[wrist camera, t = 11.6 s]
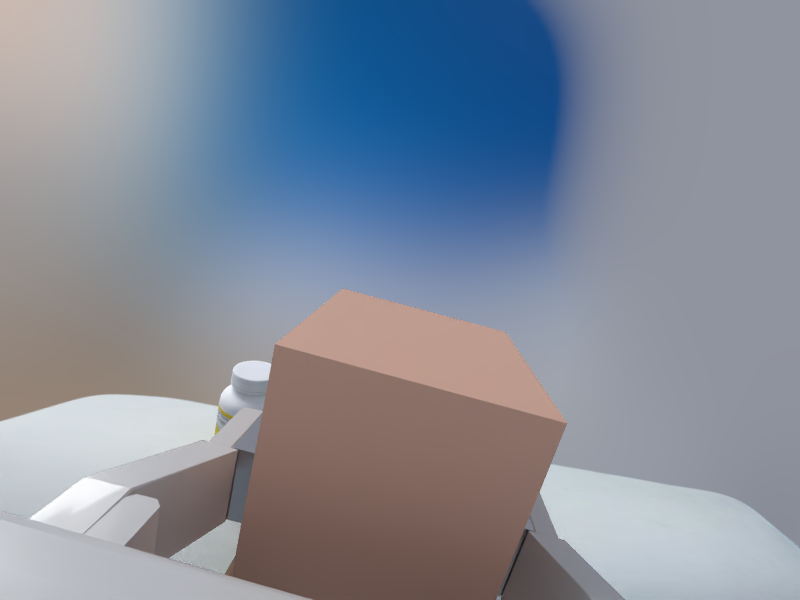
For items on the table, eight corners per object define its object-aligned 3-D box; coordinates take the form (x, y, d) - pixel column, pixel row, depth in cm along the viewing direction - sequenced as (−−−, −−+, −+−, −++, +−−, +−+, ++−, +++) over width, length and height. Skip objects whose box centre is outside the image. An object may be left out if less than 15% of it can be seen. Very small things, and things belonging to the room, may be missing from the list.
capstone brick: (194, 776, 8) (275, 344, 6) (278, 576, 12) (342, 288, 10) (400, 837, 8) (567, 423, 5) (410, 613, 12) (505, 332, 10)
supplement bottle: (269, 442, 39) (285, 358, 37) (272, 480, 35) (290, 386, 32) (212, 444, 37) (226, 354, 35) (207, 484, 32) (222, 384, 30)
